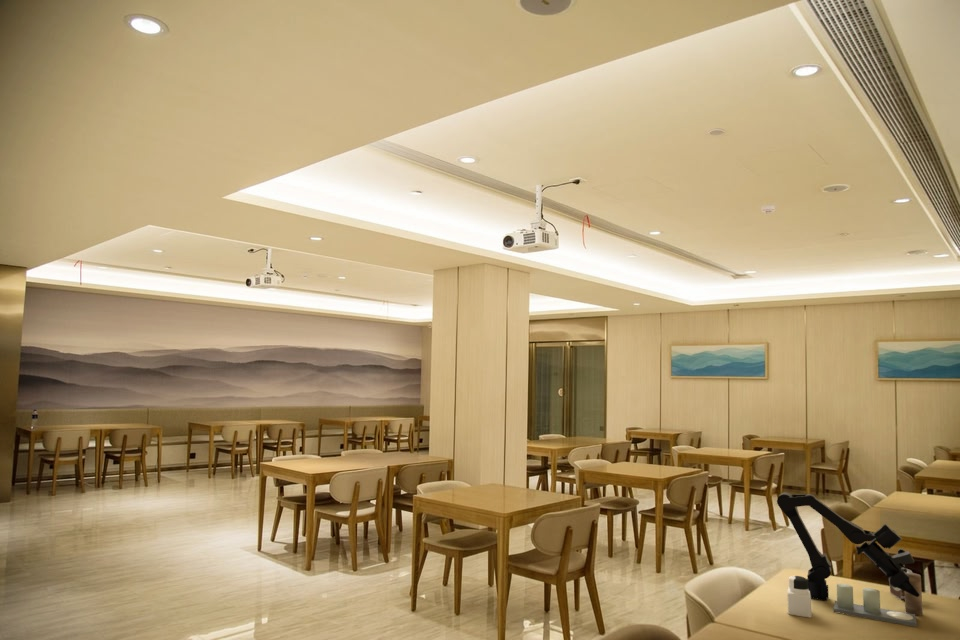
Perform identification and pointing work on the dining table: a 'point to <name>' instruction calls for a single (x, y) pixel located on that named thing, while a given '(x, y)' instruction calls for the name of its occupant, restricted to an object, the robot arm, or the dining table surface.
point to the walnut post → (911, 601)
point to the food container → (897, 591)
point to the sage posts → (869, 598)
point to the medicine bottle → (799, 597)
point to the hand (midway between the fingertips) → (917, 594)
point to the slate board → (879, 615)
